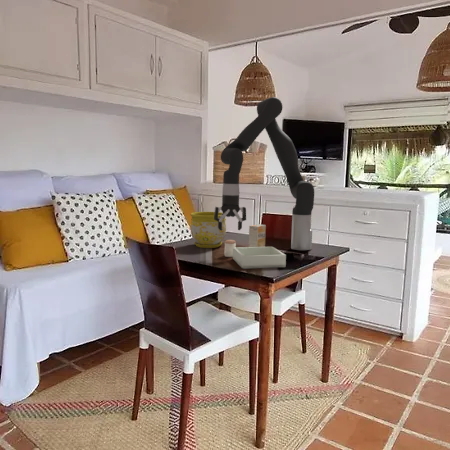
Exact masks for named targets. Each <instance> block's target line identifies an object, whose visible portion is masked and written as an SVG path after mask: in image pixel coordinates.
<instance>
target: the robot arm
mask: <svg viewBox="0 0 450 450" xmlns="http://www.w3.org/2000/svg"><path fill="white" fill-rule="evenodd" d="M282 112H283V103H282V101H281V100H280V98H278V97H275V96H272V97H268V98H266V99H263V100H261V101H259V102H258V104H257V105H256V113H257V117H256V118H254V120H252V121H251V122H249V124H248V125H247V126H246V127H244V128H243V130H242V131H241V132H240V133H239V134H238V136H237V137H236V138H235V139H234V140H233V141H232V142H230V143H229V144H228V145H227V146H226V147H225V148H224V149H223V150H222V151H221V152H220V153H221V154H220V160H221V162H222V163H223V164H224V165H229V166H228V169H226V170H225V171H224V172H223V178H222V179H223V180H222V196H221V197H222V198H221V201H222V202H221V206H215V207H214V212H215V213H214V220H216V221H218V229H219V230H222V222H221V221H222V220H223V219H224V218H225V219H226V218H229V217H232V218H234V217H235V218H236V219H237V221H238V222H237V230H238V231H241V229H242V228H243V222H245V221H247V208H246V207H245V206H241V207H240V173H241V170H242V167H243V163H244V154H243V152H245V151H247V150H248V149H250V147H251V146H252V145H253V144H254V142H255V141H256V140H257V138H258V137H259V136H260V134H261V133H263V131H266V133H267V135H268V137H269V140H270V143H271V144H272V147H273V150H274V152H275V155H276V157H277V159H278V162H279V163H280V166H281V169H282V171H283V173H284V176H285V177H286V180H287V184H288V187H289V191H290V193H291V196H292V197H293V198H294V199H295V206H294V207H293V208H292V211H291V212H292V215H291V220H292V221H291V242H290V248H291V250H296V251H308V250H312V249H313V248H312V247H313V246H312V245H313V230H312V229H311V228H312V213H313V209H314V205H315V204H314V203H315V187H314V186H313V184H312V183H311V182H309V181H305V180H304V179H303V176H302V174H301V172H300V169H299V157H298V153H297V152H298V151H297V150H296V147H295V145H294V143H293V140H292V139H291V138H290V137H289V135H288V134H286V133H285V131H283V130H282V128H281V127H280V125H279V124H278V122H277V118H278V117H279V116H280V115H281V113H282ZM218 212H222V215H221V216H220V218H218ZM239 212H241V214H242V217H241V216H240V214H238V213H239ZM224 215H225V216H226V217H225V216H224Z"/></svg>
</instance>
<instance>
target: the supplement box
mask: <svg viewBox="0 0 450 450" xmlns="http://www.w3.org/2000/svg"><path fill="white" fill-rule="evenodd" d="M248 227H249V228H248V233H249V234H248V247H266V229H267V226H266V224H259V223H258V224H253V225H249V226H248Z"/></svg>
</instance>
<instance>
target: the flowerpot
mask: <svg viewBox="0 0 450 450" xmlns="http://www.w3.org/2000/svg"><path fill="white" fill-rule="evenodd" d="M214 213H215V211H196V212H191V213H190V217H191V224H190V234H191V238H192V239H193V241H194V242H193V244H195V246H196V248H202V249H203V248H204V249H215V248H219V247H221V246H222V244H223V240H224V239H225V236H226V233H227V232H226V231H227V224H226V220H227V219H226V218H227V216H225V215H224V216H225V218H224V219H223V220H222V221H221V222H222V230H219V229H218V221H216V220H214ZM222 213H223V212H222V211H220V212H218V218H220V216H221V215H222Z"/></svg>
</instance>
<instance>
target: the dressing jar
mask: <svg viewBox="0 0 450 450" xmlns="http://www.w3.org/2000/svg"><path fill="white" fill-rule="evenodd" d="M236 246H237V244H236V240H234V239H226V240H224V257H226V258H233V248H235V247H236Z"/></svg>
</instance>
